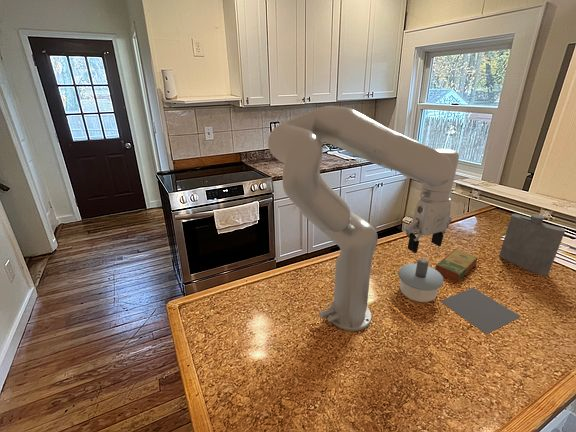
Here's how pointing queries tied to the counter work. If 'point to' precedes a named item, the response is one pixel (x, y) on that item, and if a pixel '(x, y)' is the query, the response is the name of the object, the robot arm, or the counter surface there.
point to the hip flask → (531, 243)
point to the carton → (456, 265)
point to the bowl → (417, 293)
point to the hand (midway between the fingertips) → (424, 247)
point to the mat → (480, 310)
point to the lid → (421, 276)
